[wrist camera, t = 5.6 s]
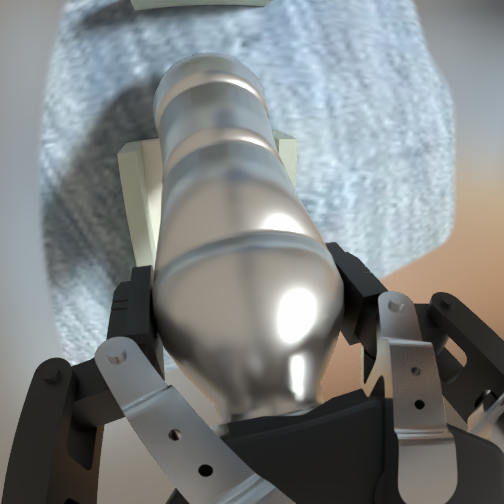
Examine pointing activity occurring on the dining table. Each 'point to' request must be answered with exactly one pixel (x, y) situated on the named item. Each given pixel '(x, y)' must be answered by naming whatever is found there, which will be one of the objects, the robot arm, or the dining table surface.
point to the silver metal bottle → (237, 250)
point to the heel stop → (192, 3)
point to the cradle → (150, 188)
